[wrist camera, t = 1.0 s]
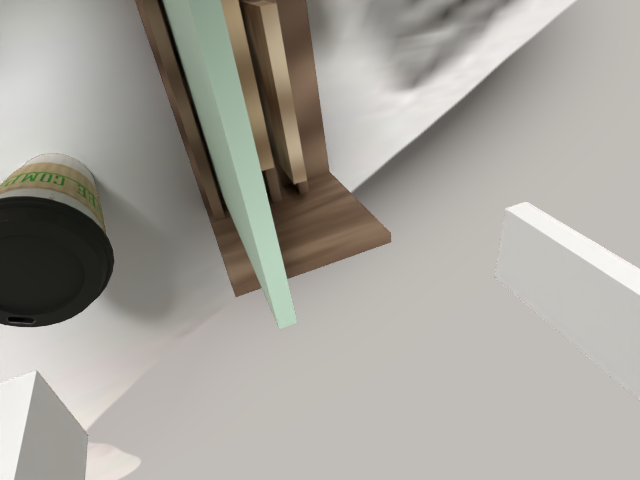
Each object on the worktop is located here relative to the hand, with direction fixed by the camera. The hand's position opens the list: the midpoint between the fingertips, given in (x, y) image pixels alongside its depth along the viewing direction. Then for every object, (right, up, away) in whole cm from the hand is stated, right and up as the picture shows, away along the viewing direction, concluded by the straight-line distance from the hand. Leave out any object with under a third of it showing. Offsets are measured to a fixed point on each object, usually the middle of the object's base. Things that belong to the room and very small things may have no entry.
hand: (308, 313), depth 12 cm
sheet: (-11, +17, +25) cm, 33 cm away
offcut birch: (-5, +17, +28) cm, 33 cm away
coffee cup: (-24, +7, +28) cm, 38 cm away
